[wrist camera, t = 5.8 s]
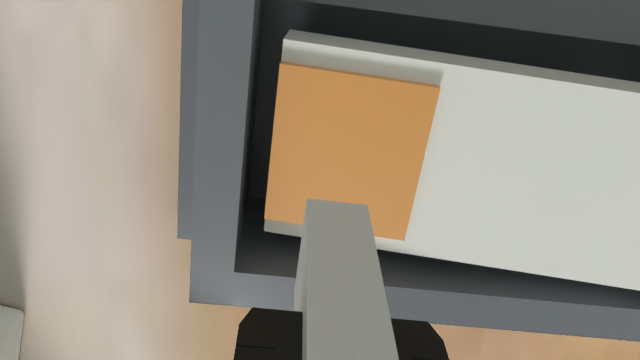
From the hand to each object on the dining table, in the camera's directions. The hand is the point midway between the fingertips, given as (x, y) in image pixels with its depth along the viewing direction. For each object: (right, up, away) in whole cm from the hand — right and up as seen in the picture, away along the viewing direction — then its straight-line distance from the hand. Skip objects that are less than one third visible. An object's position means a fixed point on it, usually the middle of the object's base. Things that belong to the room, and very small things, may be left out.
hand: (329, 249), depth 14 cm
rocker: (+5, +3, +6) cm, 8 cm away
